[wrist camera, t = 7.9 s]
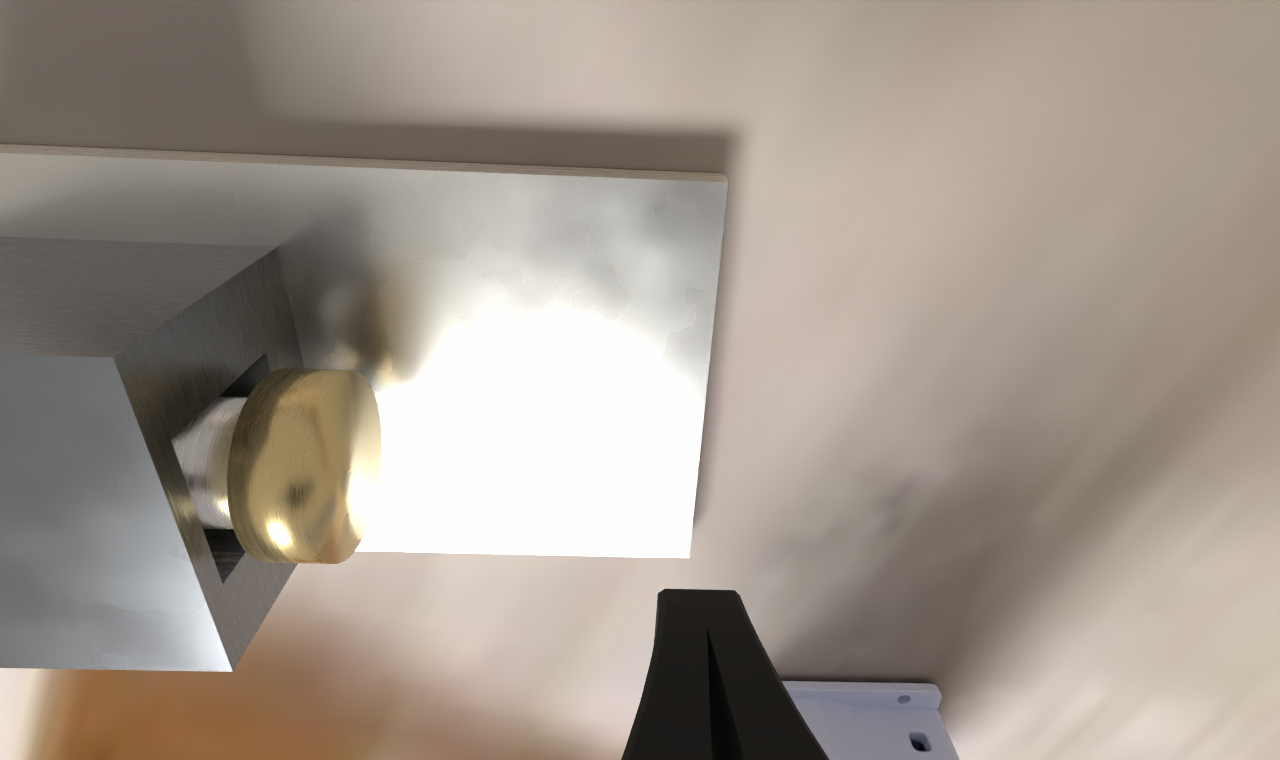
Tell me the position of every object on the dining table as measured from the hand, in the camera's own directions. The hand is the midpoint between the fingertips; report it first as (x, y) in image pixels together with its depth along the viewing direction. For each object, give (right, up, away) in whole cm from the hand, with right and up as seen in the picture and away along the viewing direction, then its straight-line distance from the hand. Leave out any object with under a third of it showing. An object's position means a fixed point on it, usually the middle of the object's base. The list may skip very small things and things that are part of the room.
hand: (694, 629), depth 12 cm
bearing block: (-10, +5, +8) cm, 13 cm away
